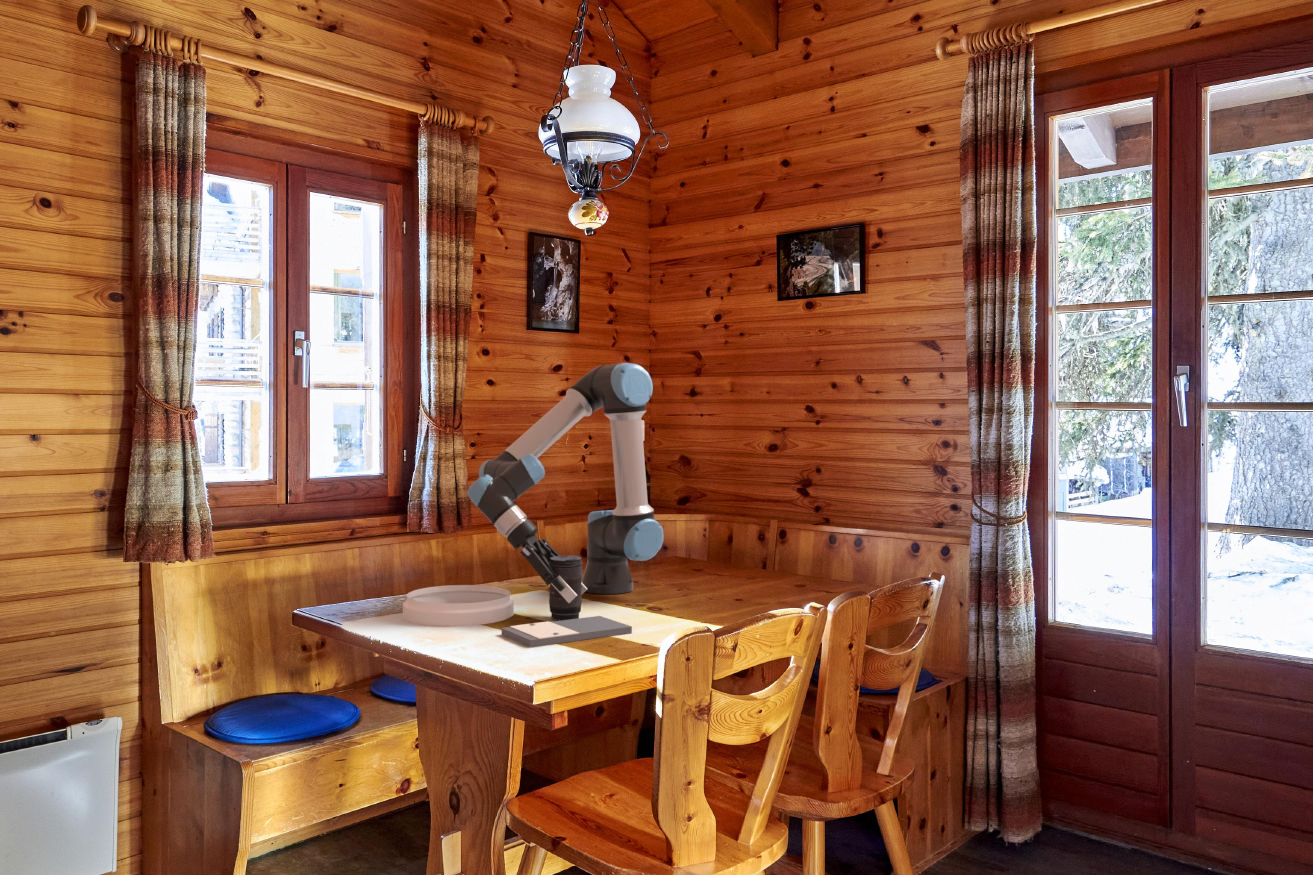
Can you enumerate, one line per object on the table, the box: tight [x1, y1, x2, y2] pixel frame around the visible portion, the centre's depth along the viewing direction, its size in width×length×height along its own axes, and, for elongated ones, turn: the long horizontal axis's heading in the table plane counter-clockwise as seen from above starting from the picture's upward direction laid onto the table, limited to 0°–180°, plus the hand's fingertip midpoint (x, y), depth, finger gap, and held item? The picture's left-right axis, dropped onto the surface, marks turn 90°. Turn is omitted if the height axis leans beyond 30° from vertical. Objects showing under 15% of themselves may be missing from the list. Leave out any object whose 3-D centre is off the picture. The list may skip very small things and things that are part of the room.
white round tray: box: [402, 584, 515, 627], centre depth 232 cm, size 27×27×6 cm
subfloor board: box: [501, 615, 633, 648], centre depth 212 cm, size 26×14×2 cm, turn 125°
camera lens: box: [548, 555, 583, 621], centre depth 229 cm, size 8×8×15 cm
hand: (578, 595), depth 228 cm, fingers closed on camera lens, 8 cm apart
